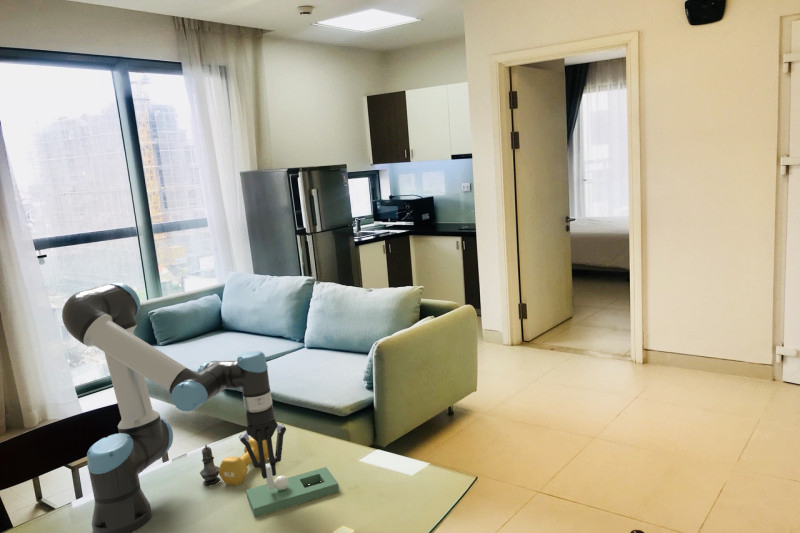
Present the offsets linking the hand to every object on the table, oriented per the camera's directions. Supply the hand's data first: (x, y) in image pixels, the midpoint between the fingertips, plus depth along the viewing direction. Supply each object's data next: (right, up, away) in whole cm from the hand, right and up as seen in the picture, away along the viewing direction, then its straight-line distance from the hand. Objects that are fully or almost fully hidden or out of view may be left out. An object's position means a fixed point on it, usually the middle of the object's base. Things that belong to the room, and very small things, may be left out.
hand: (270, 487), depth 173 cm
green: (+6, -3, +3) cm, 7 cm away
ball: (+3, +1, +1) cm, 3 cm away
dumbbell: (-12, -3, +21) cm, 24 cm away
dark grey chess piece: (-22, -4, +17) cm, 28 cm away
